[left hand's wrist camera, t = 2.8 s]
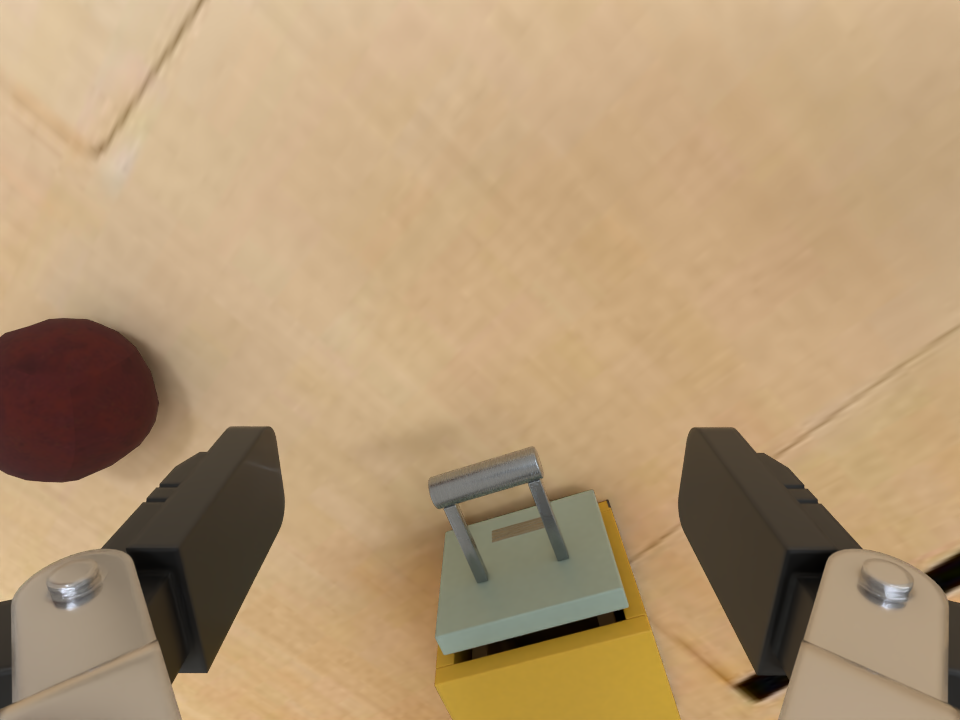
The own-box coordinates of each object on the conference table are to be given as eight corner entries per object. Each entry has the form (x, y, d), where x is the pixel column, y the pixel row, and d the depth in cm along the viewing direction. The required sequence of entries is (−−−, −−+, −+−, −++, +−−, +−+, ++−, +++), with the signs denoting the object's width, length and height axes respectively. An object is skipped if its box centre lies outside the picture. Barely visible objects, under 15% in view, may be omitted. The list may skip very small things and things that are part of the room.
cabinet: (446, 546, 35) (433, 685, 26) (608, 499, 33) (652, 630, 25) (536, 740, 41) (550, 907, 32) (676, 707, 40) (731, 872, 31)
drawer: (404, 442, 31) (380, 531, 24) (560, 392, 30) (583, 472, 23) (533, 723, 39) (543, 854, 32) (661, 693, 38) (701, 820, 31)
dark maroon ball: (38, 416, 32) (-79, 490, 25) (41, 282, 29) (-89, 326, 22) (175, 450, 32) (96, 532, 26) (190, 323, 30) (107, 378, 23)
